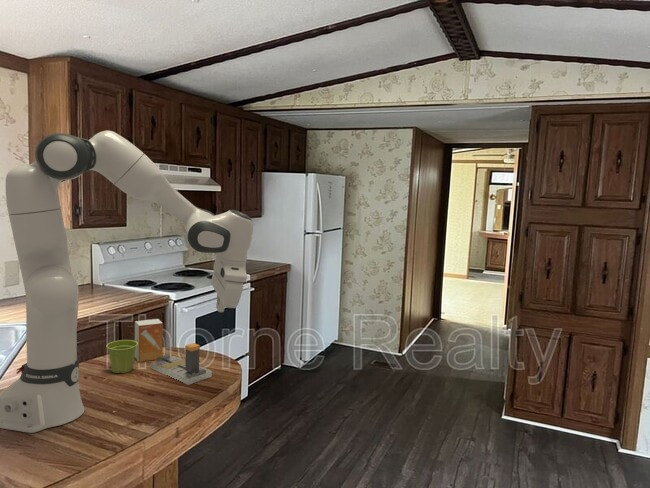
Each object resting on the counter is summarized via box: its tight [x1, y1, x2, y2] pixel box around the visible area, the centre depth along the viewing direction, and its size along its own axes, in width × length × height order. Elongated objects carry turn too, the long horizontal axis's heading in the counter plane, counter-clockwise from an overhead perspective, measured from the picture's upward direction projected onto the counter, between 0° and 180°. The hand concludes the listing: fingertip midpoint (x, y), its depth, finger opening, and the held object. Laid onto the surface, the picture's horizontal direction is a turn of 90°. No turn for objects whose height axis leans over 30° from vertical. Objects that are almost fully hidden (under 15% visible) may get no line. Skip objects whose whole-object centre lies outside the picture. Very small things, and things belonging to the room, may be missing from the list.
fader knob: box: [184, 342, 201, 373], centre depth 150 cm, size 3×3×8 cm
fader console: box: [150, 354, 213, 386], centre depth 154 cm, size 21×9×3 cm, turn 53°
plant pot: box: [106, 339, 138, 374], centre depth 154 cm, size 9×9×9 cm
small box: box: [134, 318, 164, 363], centre depth 165 cm, size 8×6×13 cm
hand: (219, 310), depth 140 cm, fingers closed
